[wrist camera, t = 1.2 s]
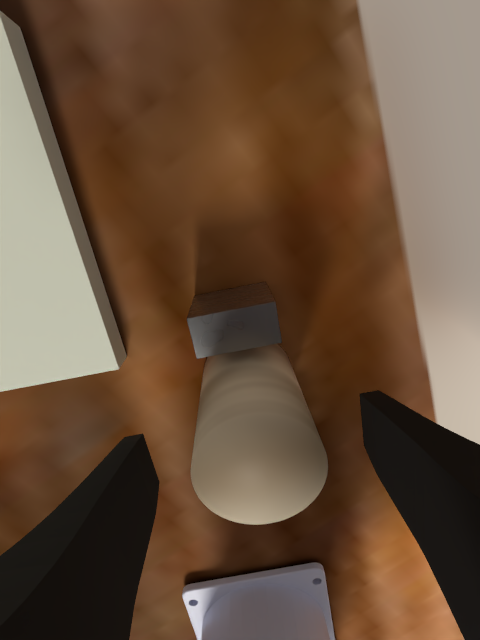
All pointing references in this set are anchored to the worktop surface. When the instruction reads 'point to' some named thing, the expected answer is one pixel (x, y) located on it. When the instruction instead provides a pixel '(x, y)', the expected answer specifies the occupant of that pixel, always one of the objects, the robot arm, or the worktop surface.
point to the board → (43, 245)
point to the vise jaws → (233, 320)
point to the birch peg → (255, 439)
